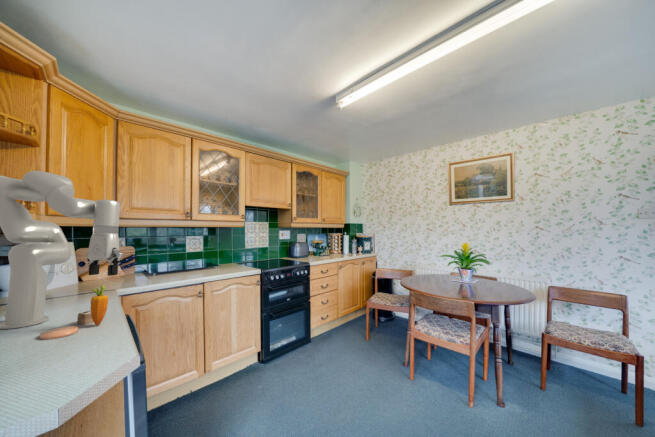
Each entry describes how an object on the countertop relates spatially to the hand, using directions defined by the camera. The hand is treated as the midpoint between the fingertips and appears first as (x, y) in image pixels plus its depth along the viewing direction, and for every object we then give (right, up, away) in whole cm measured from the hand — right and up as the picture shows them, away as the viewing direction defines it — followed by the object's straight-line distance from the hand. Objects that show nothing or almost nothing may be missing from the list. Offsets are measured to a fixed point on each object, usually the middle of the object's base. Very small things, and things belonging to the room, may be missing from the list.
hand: (103, 274), depth 95 cm
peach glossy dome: (-6, -18, -10) cm, 22 cm away
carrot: (-1, -19, -2) cm, 19 cm away
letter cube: (-8, -20, +2) cm, 21 cm away
